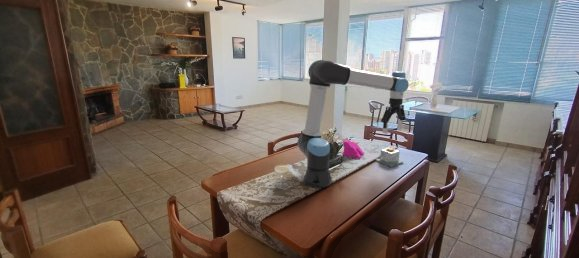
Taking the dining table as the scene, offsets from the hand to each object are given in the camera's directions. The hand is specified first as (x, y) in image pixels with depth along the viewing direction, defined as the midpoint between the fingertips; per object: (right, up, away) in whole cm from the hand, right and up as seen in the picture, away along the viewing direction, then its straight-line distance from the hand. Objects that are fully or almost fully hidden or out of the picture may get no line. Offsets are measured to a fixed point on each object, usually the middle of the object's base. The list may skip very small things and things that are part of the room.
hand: (392, 131), depth 168 cm
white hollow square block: (0, -19, +5) cm, 20 cm away
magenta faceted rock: (-20, -17, +18) cm, 32 cm away
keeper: (0, -20, +6) cm, 21 cm away
